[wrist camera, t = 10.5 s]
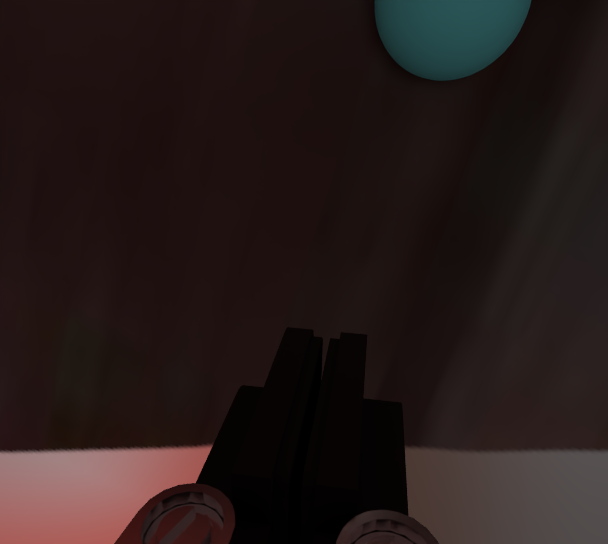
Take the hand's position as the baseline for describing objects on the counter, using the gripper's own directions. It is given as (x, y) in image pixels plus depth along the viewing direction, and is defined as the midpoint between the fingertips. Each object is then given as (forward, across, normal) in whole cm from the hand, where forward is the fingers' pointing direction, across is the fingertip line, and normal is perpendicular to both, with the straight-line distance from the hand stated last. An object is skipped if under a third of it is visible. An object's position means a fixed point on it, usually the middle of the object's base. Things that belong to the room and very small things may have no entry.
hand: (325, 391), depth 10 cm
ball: (+14, -3, -9) cm, 17 cm away
